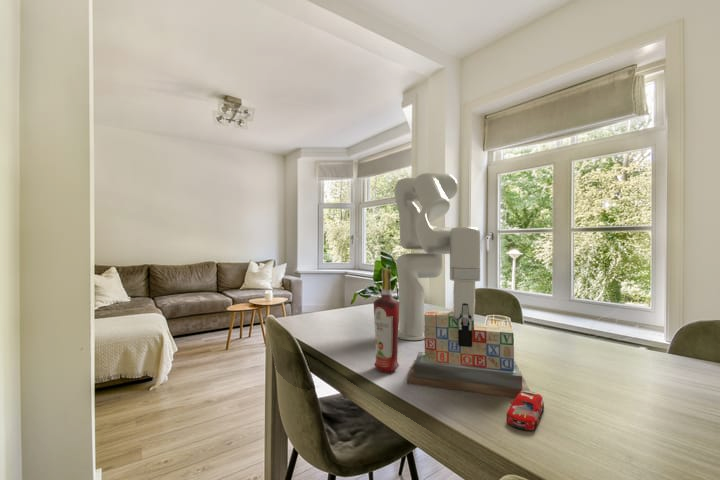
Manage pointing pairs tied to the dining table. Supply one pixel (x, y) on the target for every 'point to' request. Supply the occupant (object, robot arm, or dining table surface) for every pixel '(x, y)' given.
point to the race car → (526, 410)
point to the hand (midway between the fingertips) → (464, 340)
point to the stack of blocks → (486, 351)
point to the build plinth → (465, 385)
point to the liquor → (386, 327)
